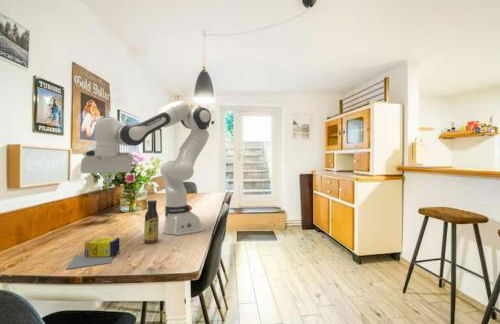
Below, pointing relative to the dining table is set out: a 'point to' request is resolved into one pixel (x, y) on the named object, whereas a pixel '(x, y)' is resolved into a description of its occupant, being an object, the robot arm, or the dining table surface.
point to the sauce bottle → (151, 223)
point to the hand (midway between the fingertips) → (107, 182)
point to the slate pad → (88, 261)
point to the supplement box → (101, 247)
